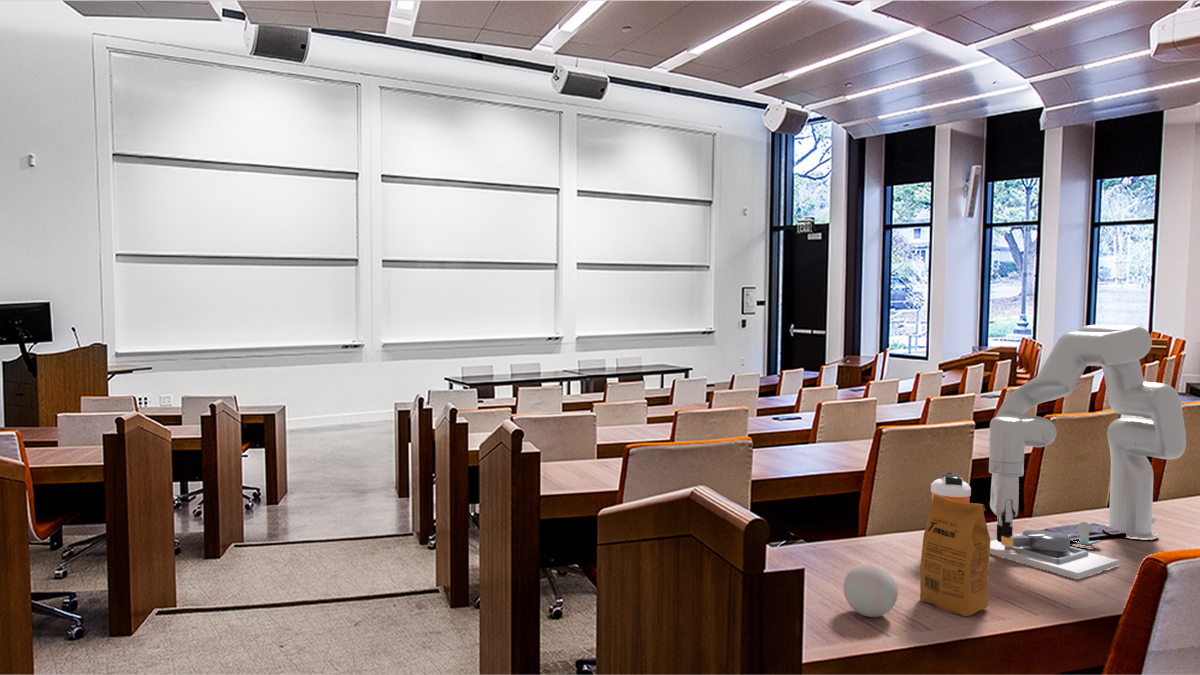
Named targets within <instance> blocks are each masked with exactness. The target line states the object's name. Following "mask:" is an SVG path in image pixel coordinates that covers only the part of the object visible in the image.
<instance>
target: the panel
mask: <svg viewBox="0 0 1200 675" xmlns="http://www.w3.org/2000/svg"><path fill="white" fill-rule="evenodd" d="M1015 535H1021V534H1019V533H1018V534H1014V535H1013V534H1012V536H1015ZM1022 548H1023V546H1013V547H1006V546H1004V545H1002V544H1001V542H998V541H997V539H992V540H990V551H989V555H990V554H992V555H991V556H994V555H996V556H995V557H997V556H1000V557H999V558H1001V557H1004V558H1007V559H1011V560H1014V561H1018V562H1020V563H1019V564H1021V563H1023V564H1022V565H1024V564H1027V565H1026V566H1028V565H1030V566H1029V567H1031V566H1033V567H1032V568H1035V567H1037V568H1036V569H1038V568H1040V569H1039V570H1041V569H1044V570H1043V571H1045V570H1047V571H1046V572H1048V571H1051V572H1050V573H1052V572H1054V573H1053V574H1055V573H1057V574H1056V575H1059V574H1061V575H1060V576H1062V575H1065V576H1068V577H1067V578H1069V577H1071V578H1070V579H1072V578H1075V579H1074V580H1076V579H1080V578H1083V577H1086V576H1089V575H1091V574H1094V573H1097V572H1100V571H1103V570H1105V569H1108V568H1111V567H1114V566H1117V565H1118V566H1119V563H1120V562H1119V559H1115V558H1111V557H1108V556H1104V555H1100V554H1096V553H1092V552H1089V550H1087V549H1081V548H1077V547H1073V546H1070V555H1067V556H1064V557H1060V558H1054V557H1051V556H1047V555H1043V554H1040V553H1036V552H1032V551H1029V550H1025V549H1022ZM1004 558H1003V559H1004ZM1007 559H1006V560H1007ZM1011 560H1010V561H1011ZM1014 561H1013V562H1014ZM1018 562H1017V563H1018ZM1065 576H1064V577H1065ZM1089 577H1090V576H1089ZM1086 578H1087V577H1086ZM1083 579H1084V578H1083ZM1080 580H1081V579H1080Z"/></svg>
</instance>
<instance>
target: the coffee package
mask: <svg viewBox="0 0 1200 675" xmlns="http://www.w3.org/2000/svg"><path fill="white" fill-rule="evenodd" d="M985 511H986V507H985V504H982V503H976V502H975V503H973V502H969V503H963V502H953V501H951V500H949V499H947V498H945V497H943V496H940V495H938V494H935V495H934V497H933V501H931V504H930V507H929V511H928V517H927V521H926V526H925V529H924V532H923V537H922V538H923V539H922V548H921V557H920V567H919V573H920V574H919V576H920V582H919V584H920V585H919V586H920V587H919V589H920V590H919V591H920V592H919V593H920V596H919V601H920V602H922V603H926V604H931V605H934V606H936V607H937V608H938V609H939V610H941V611H943V612H946V613H949V614H955V615H959V616H962V617H970V616H972V615H974V614H976V613H978V612H979V611H982V610H985V609H987V608H988V607H989V593H988V592H989V585H988V581H989V580H988V579H989V574H990V572H989V570H990V569H989V568H990V556H991V555H990V554H989V551H990V541H991V537H990V533H989V529H988V525H987V522H986V517H985V514H984V512H985Z"/></svg>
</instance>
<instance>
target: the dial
mask: <svg viewBox="0 0 1200 675" xmlns="http://www.w3.org/2000/svg"><path fill="white" fill-rule="evenodd" d="M1014 535H1015V536H1013V535H1012V536H1008V535H1006V536H1001V544H1002V545H1004V546H1006V547H1013V546H1023V548H1022V549H1025V550H1029V551H1032V552H1036V553H1040V554H1043V555H1047V556H1051V557H1054V558H1060V557H1064V556H1067V555H1070V547H1071V546H1070V541H1071V540H1070V538H1069V537H1068V535H1066V534H1063V533H1060V532H1056V531H1051V530H1043V529H1028V530H1027V529H1026V530H1024V531H1022V534H1020V535H1017V534H1014Z"/></svg>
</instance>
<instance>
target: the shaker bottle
mask: <svg viewBox="0 0 1200 675" xmlns="http://www.w3.org/2000/svg"><path fill="white" fill-rule="evenodd" d="M941 475H942V476H943V477H941V478H937V479H935V480H934V481H933V482H931V484H930V492H931V500H932V501H933V497H934V495H935V494H938V495H940V496H943V497H945V498H947V499H949V500H951V501H953V502H963V503H970V497H971V496H972V494H971V493H972V488H971V486H970V485H969V483H967V482H966V481H964V480H963V477H960V476H959V474H957V473H954V472H949V471H947V472H946V471H944V472H941ZM932 501H931V502H932Z"/></svg>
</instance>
